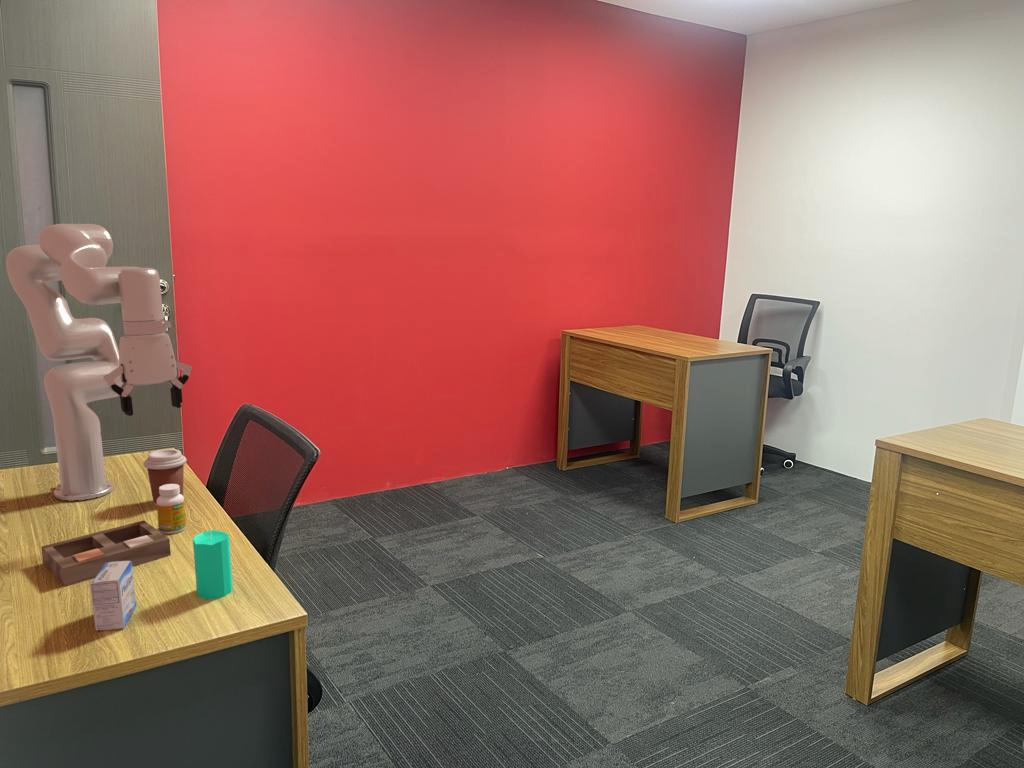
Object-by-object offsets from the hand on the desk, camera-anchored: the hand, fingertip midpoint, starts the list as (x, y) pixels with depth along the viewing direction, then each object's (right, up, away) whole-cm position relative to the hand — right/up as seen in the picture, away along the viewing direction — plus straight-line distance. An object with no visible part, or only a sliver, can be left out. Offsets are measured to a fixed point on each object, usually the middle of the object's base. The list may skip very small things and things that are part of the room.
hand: (153, 410), depth 159 cm
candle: (+21, -32, -22) cm, 44 cm away
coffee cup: (-6, -22, +21) cm, 31 cm away
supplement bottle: (+2, -26, +5) cm, 26 cm away
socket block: (-4, -29, -10) cm, 31 cm away
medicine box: (+9, -34, -32) cm, 47 cm away
